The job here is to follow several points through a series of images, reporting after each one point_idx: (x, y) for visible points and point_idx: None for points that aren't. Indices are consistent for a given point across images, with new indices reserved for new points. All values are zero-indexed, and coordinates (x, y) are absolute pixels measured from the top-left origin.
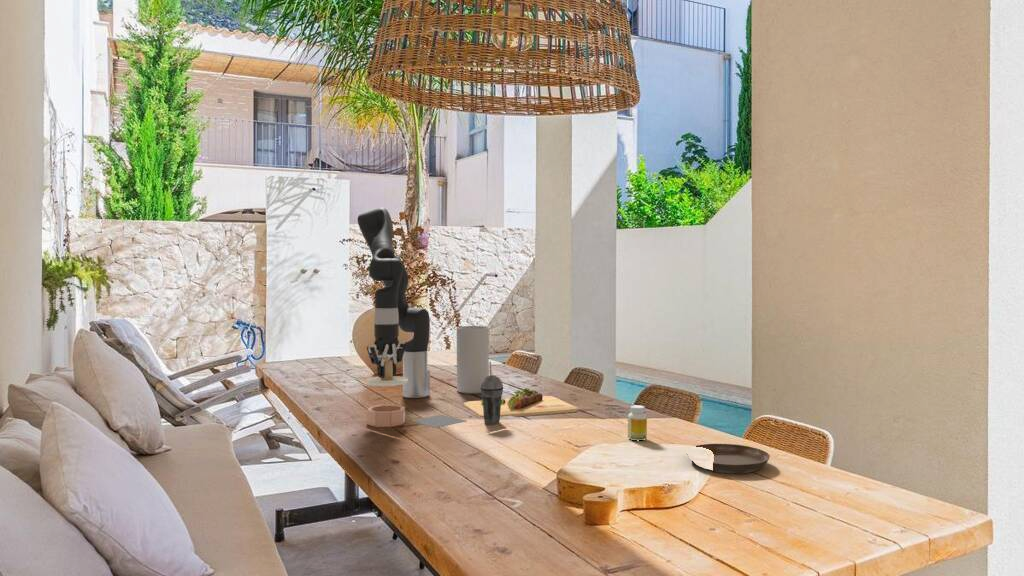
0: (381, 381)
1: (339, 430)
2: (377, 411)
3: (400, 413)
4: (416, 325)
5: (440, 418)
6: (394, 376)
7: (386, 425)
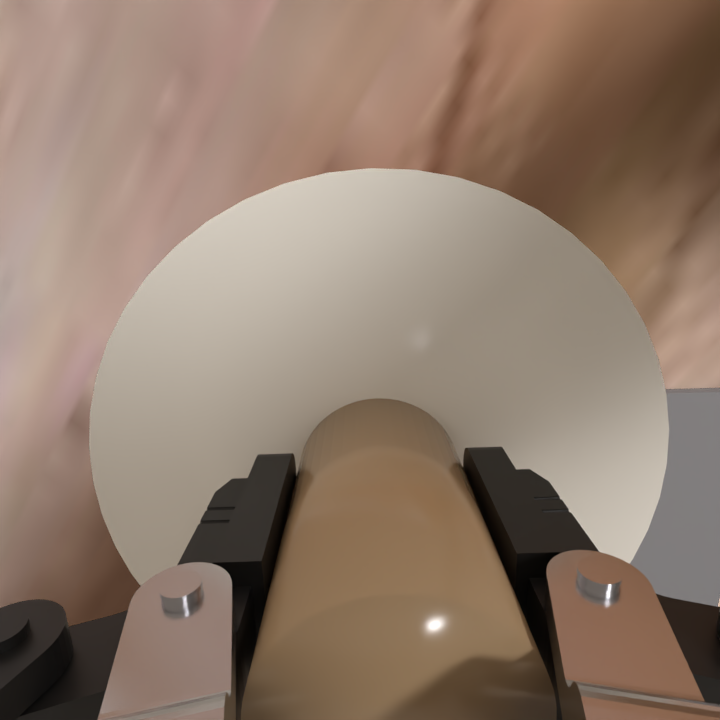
0: None
1: (51, 266)
2: None
3: None
4: None
5: (666, 472)
6: (613, 343)
7: None
